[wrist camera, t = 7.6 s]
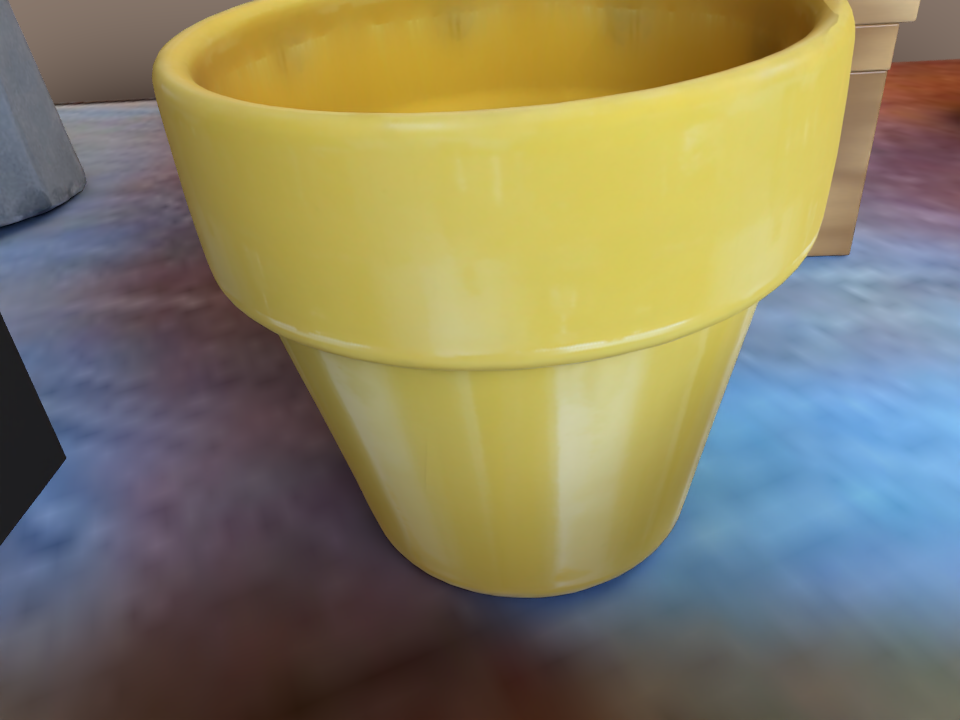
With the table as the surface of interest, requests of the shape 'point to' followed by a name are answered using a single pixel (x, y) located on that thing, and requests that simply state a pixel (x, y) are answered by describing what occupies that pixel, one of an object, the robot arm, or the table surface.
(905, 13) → the plant rack
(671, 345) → the flower pot
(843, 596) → the table surface
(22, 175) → the moka pot
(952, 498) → the table surface
